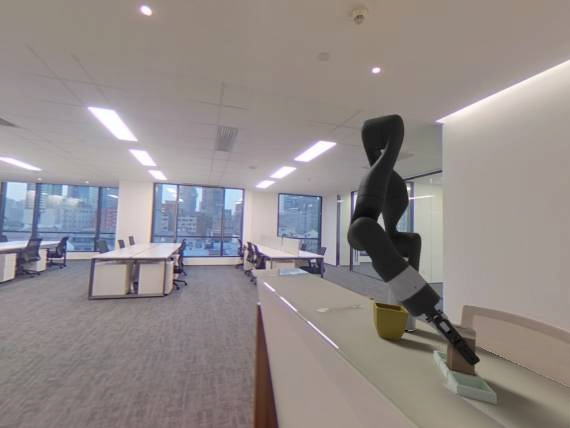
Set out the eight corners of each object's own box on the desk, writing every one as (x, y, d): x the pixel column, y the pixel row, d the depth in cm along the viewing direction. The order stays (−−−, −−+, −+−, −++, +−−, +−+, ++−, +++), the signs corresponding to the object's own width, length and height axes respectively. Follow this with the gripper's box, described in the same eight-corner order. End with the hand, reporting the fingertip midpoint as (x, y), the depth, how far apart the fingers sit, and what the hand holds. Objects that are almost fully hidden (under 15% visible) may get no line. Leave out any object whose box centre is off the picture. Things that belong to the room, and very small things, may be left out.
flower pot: (407, 345, 74) (409, 312, 75) (374, 339, 76) (376, 307, 77) (400, 336, 82) (402, 306, 83) (370, 330, 84) (372, 301, 85)
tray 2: (439, 369, 60) (440, 359, 60) (471, 376, 58) (471, 366, 58) (446, 381, 54) (447, 370, 54) (481, 389, 52) (482, 378, 52)
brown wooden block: (446, 369, 59) (448, 322, 60) (467, 374, 57) (469, 326, 58) (451, 377, 55) (453, 327, 56) (474, 383, 54) (475, 331, 55)
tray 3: (447, 382, 54) (448, 371, 54) (482, 390, 52) (483, 379, 52) (456, 397, 48) (457, 385, 48) (496, 407, 46) (496, 394, 46)
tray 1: (433, 358, 66) (433, 350, 66) (461, 365, 64) (461, 356, 64) (439, 368, 60) (439, 359, 60) (470, 375, 58) (470, 365, 59)
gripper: (431, 283, 54) (502, 360, 49) (419, 277, 67) (473, 337, 62) (401, 305, 55) (467, 383, 50) (395, 295, 68) (446, 356, 63)
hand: (470, 357), depth 56 cm, fingers open, 5 cm apart
